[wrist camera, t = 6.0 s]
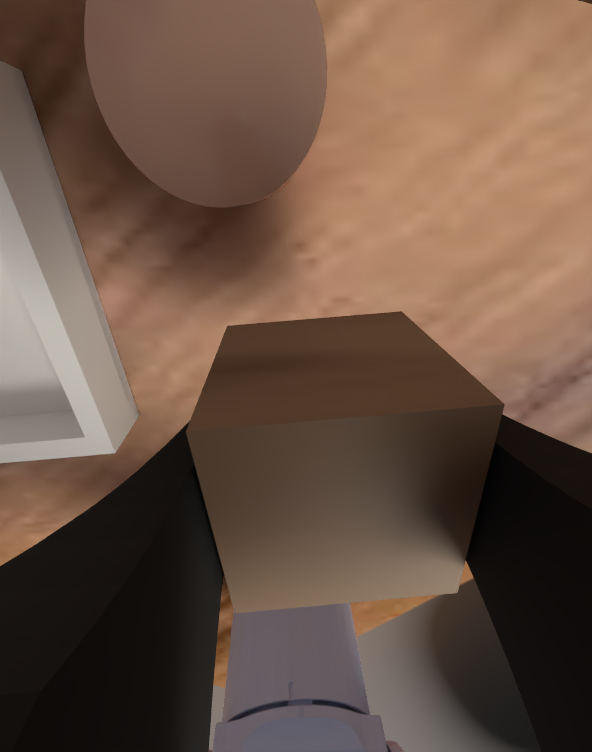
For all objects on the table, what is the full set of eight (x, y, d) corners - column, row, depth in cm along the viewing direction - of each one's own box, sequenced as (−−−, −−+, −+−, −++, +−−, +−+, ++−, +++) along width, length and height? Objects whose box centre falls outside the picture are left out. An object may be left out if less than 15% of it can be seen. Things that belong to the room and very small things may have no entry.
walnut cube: (391, 448, 12) (457, 593, 8) (250, 460, 12) (234, 613, 8) (401, 311, 10) (505, 404, 5) (227, 325, 10) (185, 432, 5)
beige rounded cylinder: (309, 198, 14) (330, 199, 8) (185, 208, 14) (127, 215, 8) (301, 30, 11) (322, -115, 6) (152, 41, 11) (42, -96, 6)
